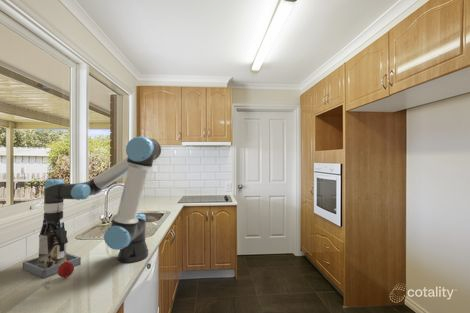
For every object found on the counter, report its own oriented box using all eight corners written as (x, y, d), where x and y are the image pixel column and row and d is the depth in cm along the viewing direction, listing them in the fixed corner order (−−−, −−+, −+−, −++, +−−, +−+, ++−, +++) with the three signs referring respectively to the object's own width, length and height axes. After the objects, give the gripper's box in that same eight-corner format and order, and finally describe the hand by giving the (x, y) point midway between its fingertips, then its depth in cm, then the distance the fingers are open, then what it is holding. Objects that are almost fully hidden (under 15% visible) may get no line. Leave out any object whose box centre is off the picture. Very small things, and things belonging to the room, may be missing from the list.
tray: (80, 264, 117) (80, 257, 117) (42, 278, 103) (43, 270, 103) (60, 257, 125) (60, 250, 125) (22, 269, 111) (22, 262, 111)
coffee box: (48, 271, 109) (49, 236, 109) (37, 269, 110) (38, 234, 111) (66, 262, 118) (67, 230, 118) (56, 261, 119) (57, 229, 119)
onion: (71, 273, 108) (71, 256, 108) (75, 277, 104) (76, 259, 104) (55, 278, 103) (56, 260, 103) (59, 283, 100) (60, 264, 100)
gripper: (77, 212, 112) (76, 257, 112) (48, 207, 123) (47, 247, 123) (59, 216, 105) (58, 263, 105) (31, 209, 117) (30, 252, 116)
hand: (52, 255), depth 114 cm, fingers open, 13 cm apart
